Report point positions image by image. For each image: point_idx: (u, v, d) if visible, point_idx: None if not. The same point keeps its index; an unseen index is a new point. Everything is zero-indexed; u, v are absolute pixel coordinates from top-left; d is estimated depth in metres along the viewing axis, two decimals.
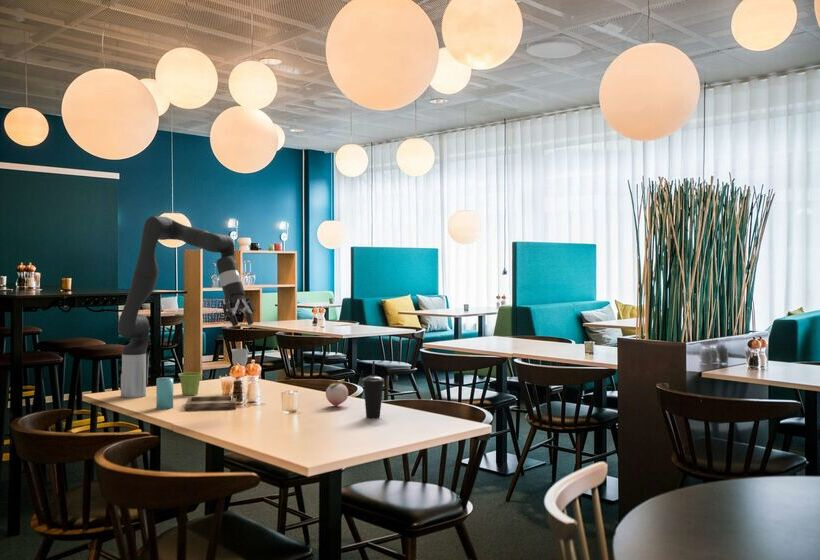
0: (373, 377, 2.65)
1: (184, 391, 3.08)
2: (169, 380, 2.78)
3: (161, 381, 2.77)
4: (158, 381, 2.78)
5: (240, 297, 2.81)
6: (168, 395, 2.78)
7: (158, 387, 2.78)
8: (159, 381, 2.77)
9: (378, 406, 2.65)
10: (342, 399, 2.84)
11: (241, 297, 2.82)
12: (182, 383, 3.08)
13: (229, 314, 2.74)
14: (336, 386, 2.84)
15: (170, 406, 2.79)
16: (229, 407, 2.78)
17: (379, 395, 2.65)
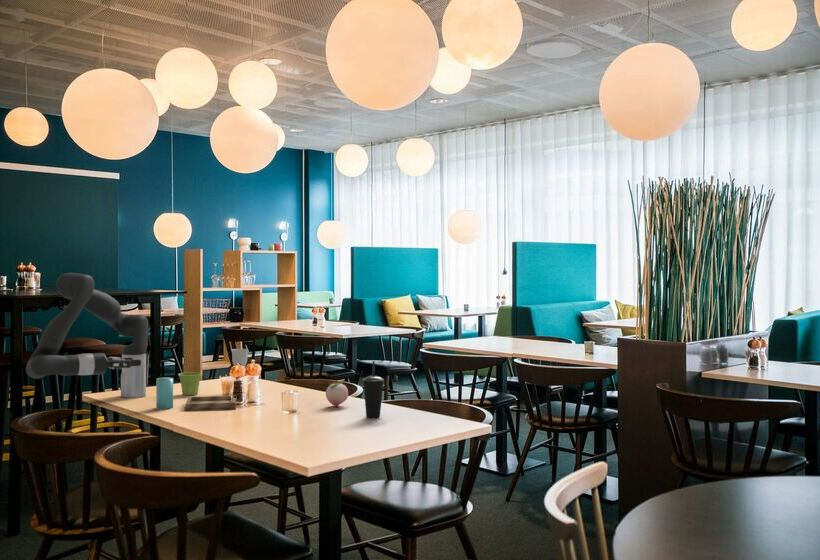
0: (373, 377, 2.65)
1: (184, 391, 3.08)
2: (169, 380, 2.78)
3: (161, 381, 2.77)
4: (158, 381, 2.77)
5: None
6: (168, 395, 2.78)
7: (158, 387, 2.78)
8: (159, 381, 2.77)
9: (378, 406, 2.65)
10: (342, 399, 2.84)
11: None
12: (182, 383, 3.08)
13: None
14: (336, 386, 2.84)
15: (170, 406, 2.79)
16: (229, 407, 2.78)
17: (379, 395, 2.65)
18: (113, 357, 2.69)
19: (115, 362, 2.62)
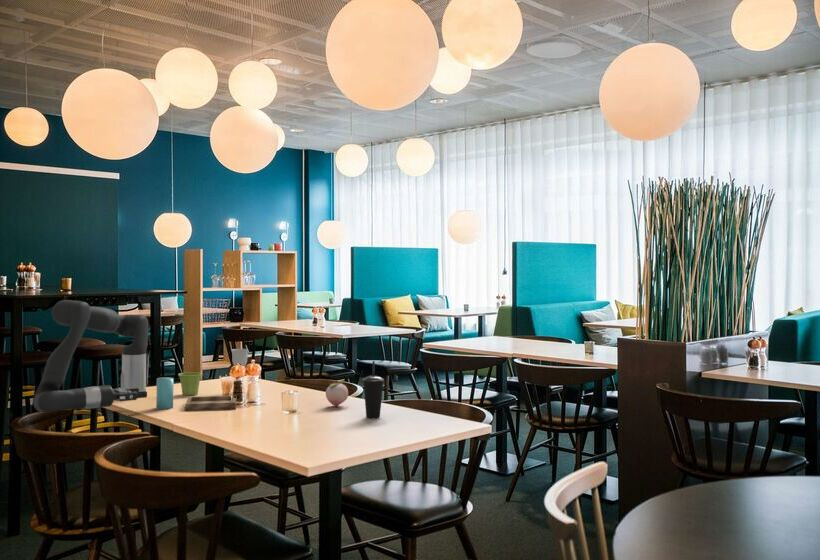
0: (373, 377, 2.65)
1: (184, 391, 3.08)
2: (169, 380, 2.78)
3: (161, 381, 2.77)
4: (158, 381, 2.78)
5: None
6: (168, 395, 2.78)
7: (158, 387, 2.78)
8: (159, 381, 2.77)
9: (378, 406, 2.65)
10: (342, 399, 2.84)
11: None
12: (182, 383, 3.08)
13: None
14: (336, 386, 2.84)
15: (170, 406, 2.79)
16: (229, 407, 2.78)
17: (379, 395, 2.65)
18: (119, 389, 2.71)
19: (121, 395, 2.63)
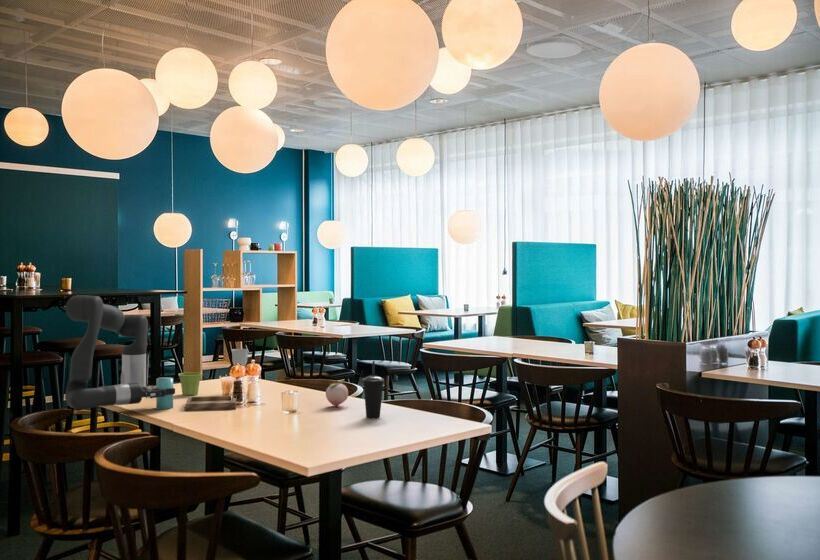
0: (373, 377, 2.65)
1: (184, 391, 3.08)
2: (169, 380, 2.78)
3: (161, 381, 2.77)
4: (158, 381, 2.77)
5: None
6: (168, 395, 2.78)
7: (158, 387, 2.78)
8: (159, 381, 2.77)
9: (378, 406, 2.65)
10: (342, 399, 2.84)
11: None
12: (182, 383, 3.08)
13: None
14: (336, 386, 2.84)
15: (170, 406, 2.79)
16: (229, 407, 2.78)
17: (379, 395, 2.65)
18: (148, 386, 2.77)
19: (152, 392, 2.70)
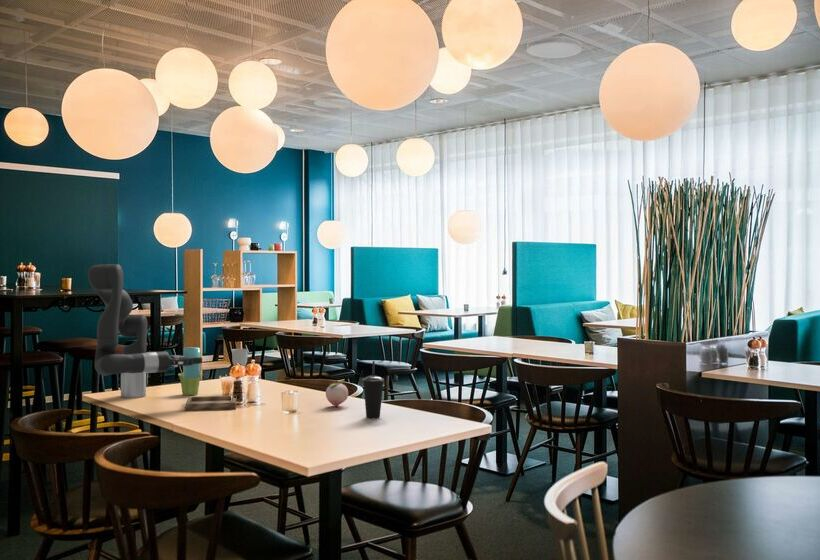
0: (373, 377, 2.65)
1: (184, 391, 3.08)
2: (196, 349, 2.80)
3: (188, 350, 2.79)
4: (185, 350, 2.80)
5: None
6: (195, 364, 2.80)
7: (185, 356, 2.80)
8: (186, 350, 2.79)
9: (378, 406, 2.65)
10: (342, 399, 2.84)
11: None
12: (182, 383, 3.08)
13: None
14: (336, 386, 2.84)
15: (197, 375, 2.81)
16: (229, 407, 2.78)
17: (379, 395, 2.65)
18: (175, 355, 2.80)
19: (180, 360, 2.72)
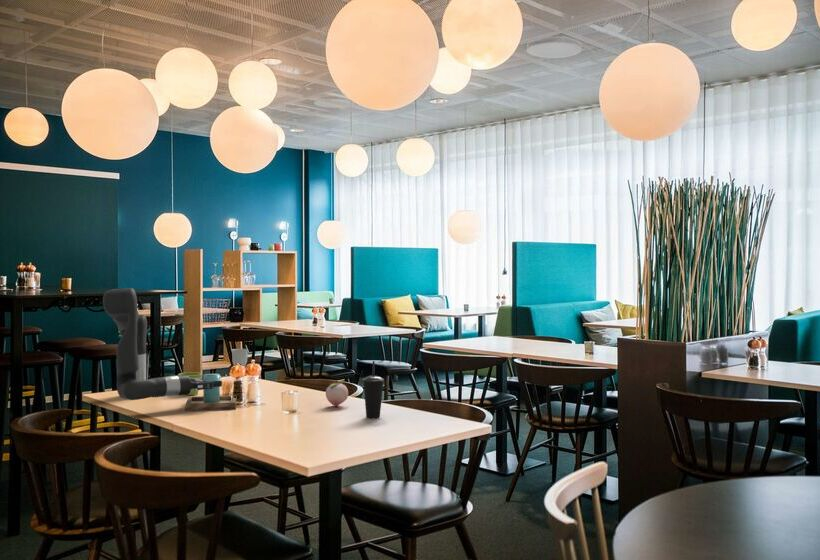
0: (373, 377, 2.65)
1: None
2: (216, 376, 2.83)
3: (208, 377, 2.82)
4: (205, 377, 2.82)
5: None
6: (215, 391, 2.82)
7: None
8: (206, 377, 2.82)
9: (378, 406, 2.65)
10: (342, 399, 2.84)
11: None
12: None
13: None
14: (336, 386, 2.84)
15: (217, 402, 2.83)
16: (229, 407, 2.78)
17: (379, 395, 2.65)
18: (195, 378, 2.82)
19: (199, 384, 2.74)
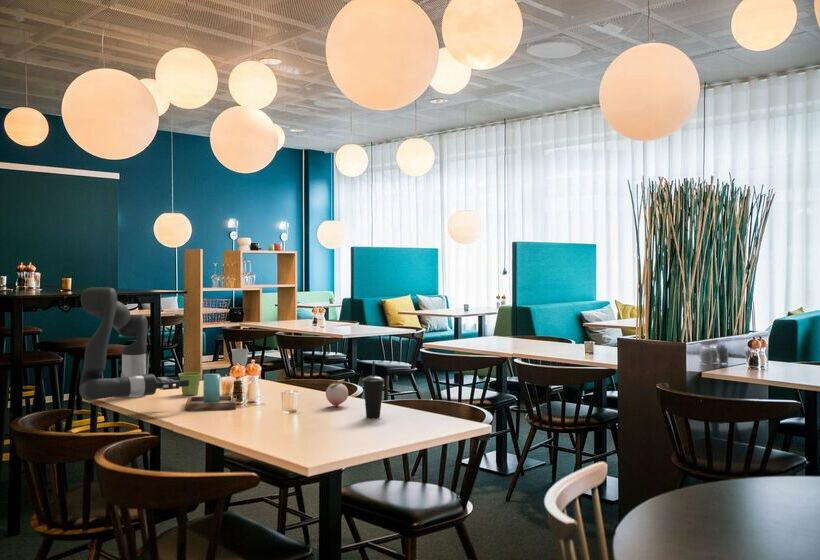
0: (373, 377, 2.65)
1: (184, 391, 3.08)
2: (216, 376, 2.83)
3: (208, 377, 2.82)
4: (205, 377, 2.82)
5: None
6: (215, 391, 2.82)
7: (205, 383, 2.82)
8: (206, 377, 2.82)
9: (378, 406, 2.65)
10: (342, 399, 2.84)
11: None
12: None
13: None
14: (336, 386, 2.84)
15: (217, 402, 2.83)
16: (229, 407, 2.78)
17: (379, 395, 2.65)
18: None
19: (165, 383, 2.66)
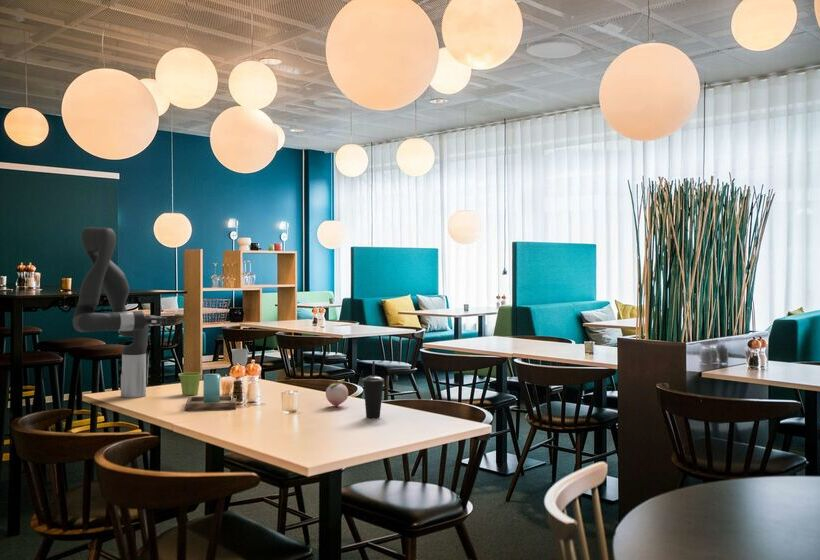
0: (373, 377, 2.65)
1: (184, 391, 3.08)
2: (216, 376, 2.83)
3: (208, 377, 2.82)
4: (205, 377, 2.82)
5: None
6: (215, 391, 2.82)
7: (205, 383, 2.82)
8: (206, 377, 2.82)
9: (378, 406, 2.65)
10: (342, 399, 2.84)
11: None
12: (182, 383, 3.08)
13: None
14: (336, 386, 2.84)
15: (217, 402, 2.83)
16: (229, 407, 2.78)
17: (379, 395, 2.65)
18: (150, 315, 2.92)
19: (153, 319, 2.84)
